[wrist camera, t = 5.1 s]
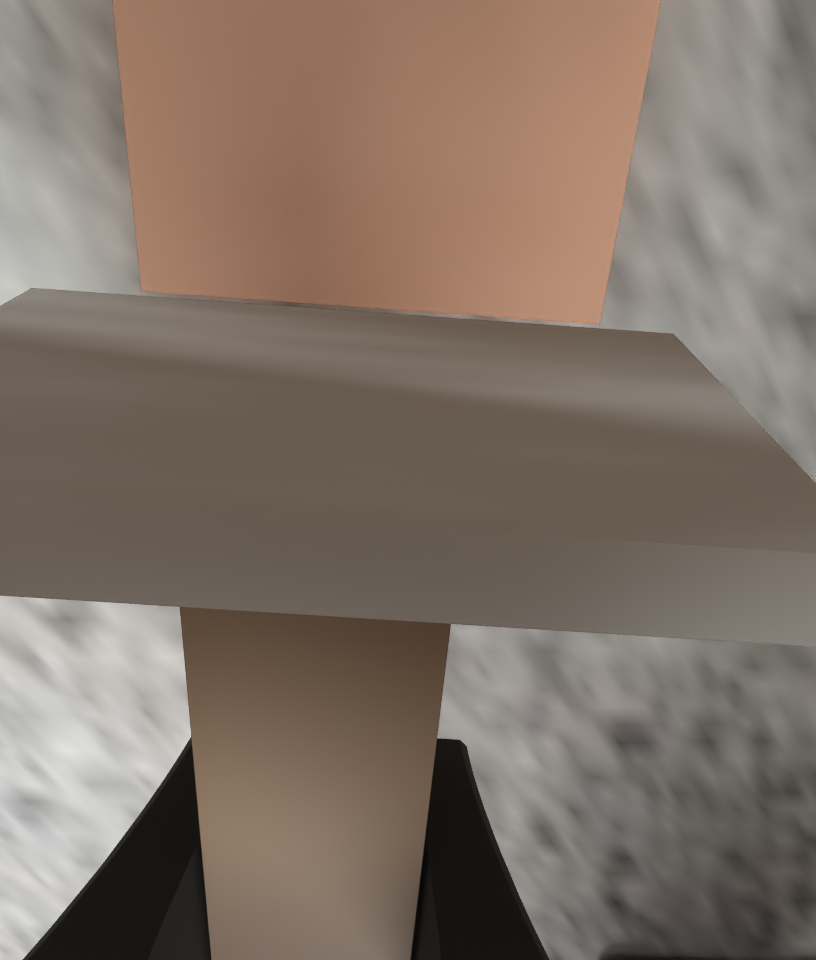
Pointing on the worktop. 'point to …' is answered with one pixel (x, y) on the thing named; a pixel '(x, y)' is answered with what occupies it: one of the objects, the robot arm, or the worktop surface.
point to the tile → (383, 149)
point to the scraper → (371, 549)
